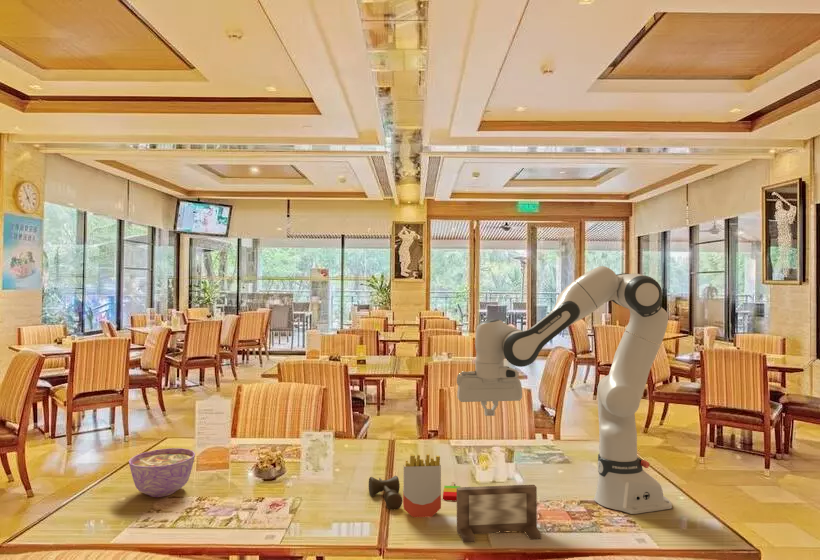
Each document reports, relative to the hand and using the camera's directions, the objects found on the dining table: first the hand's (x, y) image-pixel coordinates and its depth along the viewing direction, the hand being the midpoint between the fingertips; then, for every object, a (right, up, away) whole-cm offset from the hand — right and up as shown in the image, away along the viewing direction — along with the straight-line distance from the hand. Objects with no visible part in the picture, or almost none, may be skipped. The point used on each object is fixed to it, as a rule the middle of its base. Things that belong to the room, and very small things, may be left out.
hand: (489, 415), depth 171 cm
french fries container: (-22, -27, -9) cm, 36 cm away
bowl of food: (-106, -28, +8) cm, 110 cm away
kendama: (-32, -28, +3) cm, 43 cm away
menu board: (-1, -27, -23) cm, 35 cm away
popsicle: (-11, -28, +8) cm, 31 cm away
